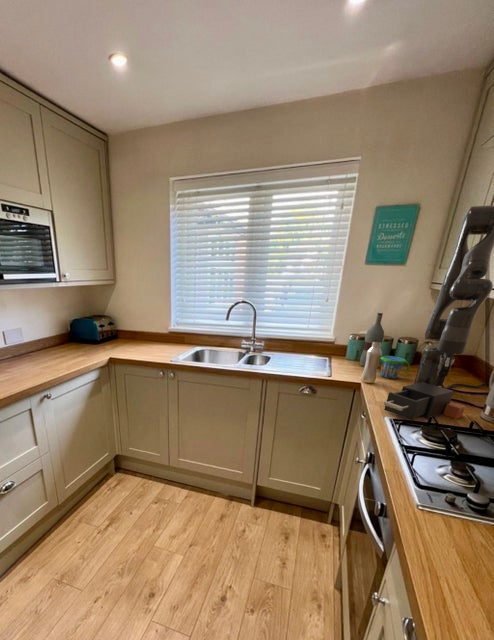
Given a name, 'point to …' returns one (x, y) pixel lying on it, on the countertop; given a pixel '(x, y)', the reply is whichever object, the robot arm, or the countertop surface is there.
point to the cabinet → (438, 397)
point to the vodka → (372, 337)
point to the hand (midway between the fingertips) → (438, 385)
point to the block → (454, 410)
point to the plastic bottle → (372, 363)
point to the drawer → (407, 404)
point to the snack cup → (392, 366)
